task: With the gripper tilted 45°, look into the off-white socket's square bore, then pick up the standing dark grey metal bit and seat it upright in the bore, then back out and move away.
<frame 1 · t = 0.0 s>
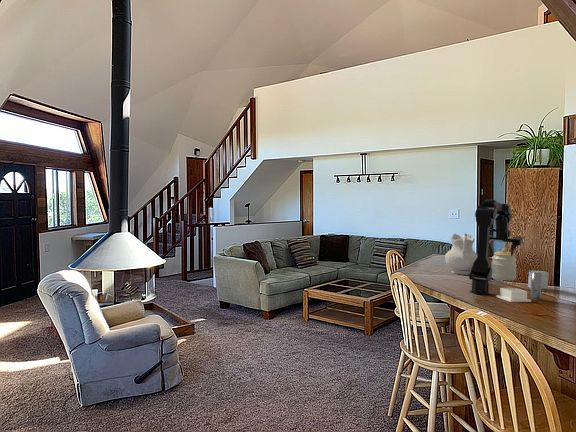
hand: (502, 255, 233), 15 cm above the table, tool pointing down, fingers open, 9 cm apart
ceramic pitcher: (461, 273, 269), on the table
socket: (513, 299, 196), on the table
medicine box: (537, 288, 225), on the table
jar: (503, 279, 253), on the table
bit: (535, 299, 197), on the table
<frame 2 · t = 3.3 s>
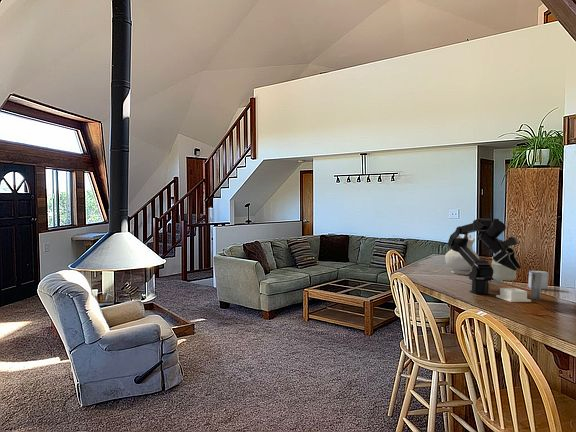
hand: (518, 269, 195), 14 cm above the table, tool tilted 45°, fingers open, 9 cm apart
nothing on the table moved.
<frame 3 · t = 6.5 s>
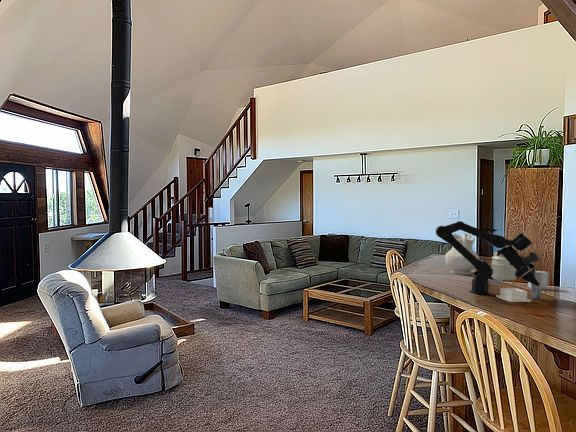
hand: (539, 284, 196), 7 cm above the table, tool tilted 45°, fingers closed on bit, 4 cm apart
bit: (535, 299, 197), on the table, touching gripper
everything else where it was.
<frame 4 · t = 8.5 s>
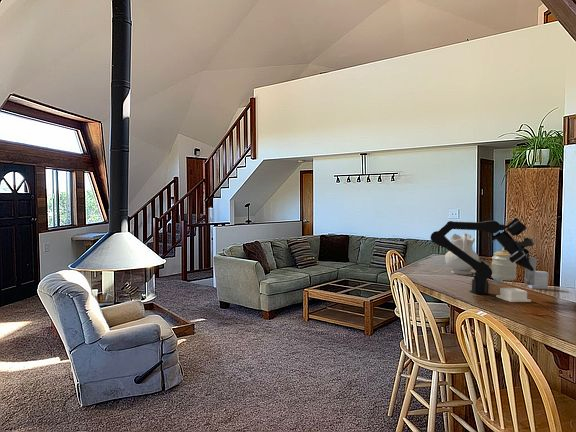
hand: (533, 270, 196), 13 cm above the table, tool tilted 45°, fingers closed on bit, 4 cm apart
bit: (529, 284, 197), point 7 cm above the table, touching gripper
everything else where it was.
when the fingers open (9 cm above the table, at t = 10.6 s): bit drops 1 cm, resting on socket.
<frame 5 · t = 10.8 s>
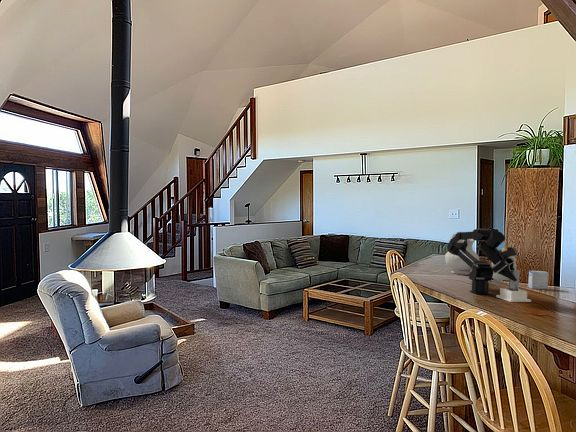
hand: (517, 279, 195), 9 cm above the table, tool tilted 45°, fingers open, 6 cm apart
bit: (512, 297, 196), point 1 cm above the table, touching socket
everything else where it was.
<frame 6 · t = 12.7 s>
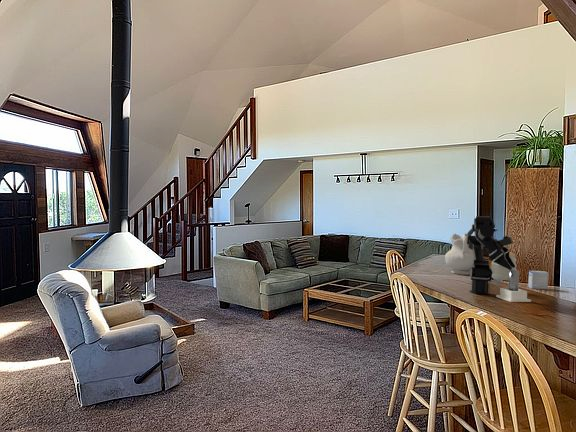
hand: (513, 268, 196), 14 cm above the table, tool tilted 45°, fingers open, 9 cm apart
nothing on the table moved.
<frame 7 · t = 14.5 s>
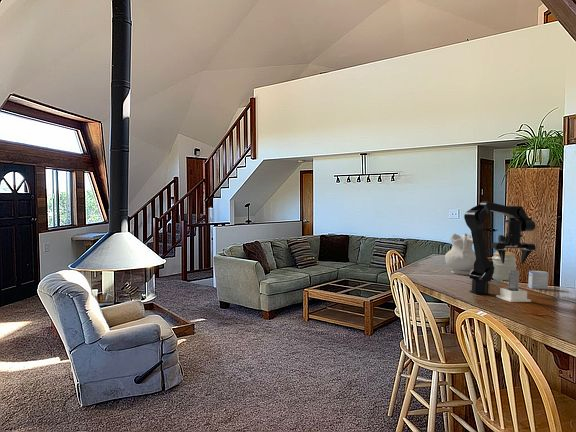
hand: (512, 263, 215), 13 cm above the table, tool pointing down, fingers open, 9 cm apart
nothing on the table moved.
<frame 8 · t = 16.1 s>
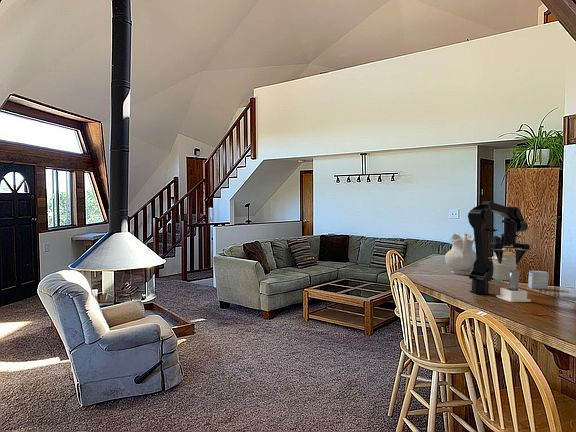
hand: (508, 263, 218), 13 cm above the table, tool pointing down, fingers open, 9 cm apart
nothing on the table moved.
at the end: bit 0.1 cm off-centre on the socket, point 0.8 cm above the socket's base; bit tilted 0°; the gripper is holding nothing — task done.
